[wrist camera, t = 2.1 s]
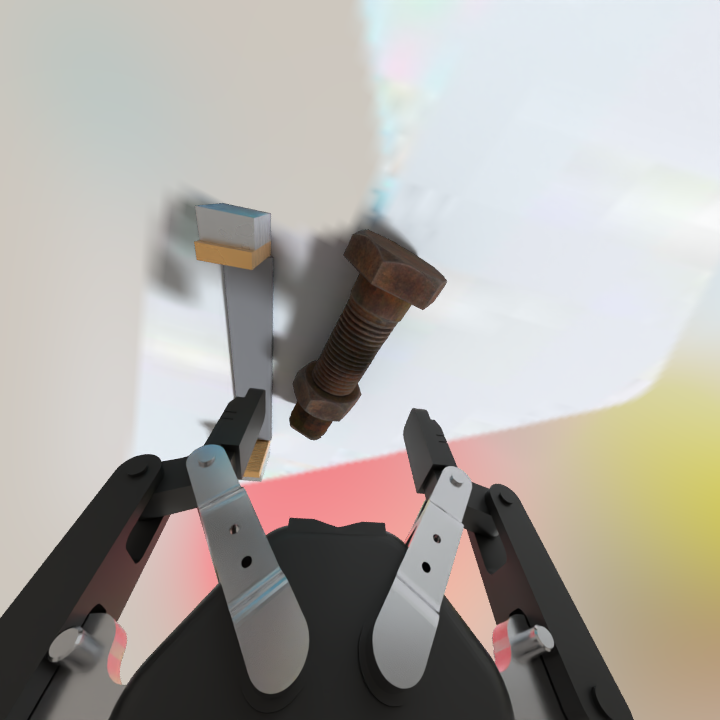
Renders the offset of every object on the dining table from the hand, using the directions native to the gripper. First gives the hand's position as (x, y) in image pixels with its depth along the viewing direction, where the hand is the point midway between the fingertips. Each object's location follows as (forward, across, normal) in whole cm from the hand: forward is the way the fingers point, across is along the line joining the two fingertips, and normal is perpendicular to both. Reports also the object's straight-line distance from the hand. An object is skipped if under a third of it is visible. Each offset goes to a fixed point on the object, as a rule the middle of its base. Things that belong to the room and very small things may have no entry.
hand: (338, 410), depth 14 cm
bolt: (+7, 0, -1) cm, 7 cm away
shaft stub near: (+6, +6, -7) cm, 11 cm away
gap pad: (+6, +6, +2) cm, 9 cm away
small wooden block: (+6, +6, +12) cm, 15 cm away
